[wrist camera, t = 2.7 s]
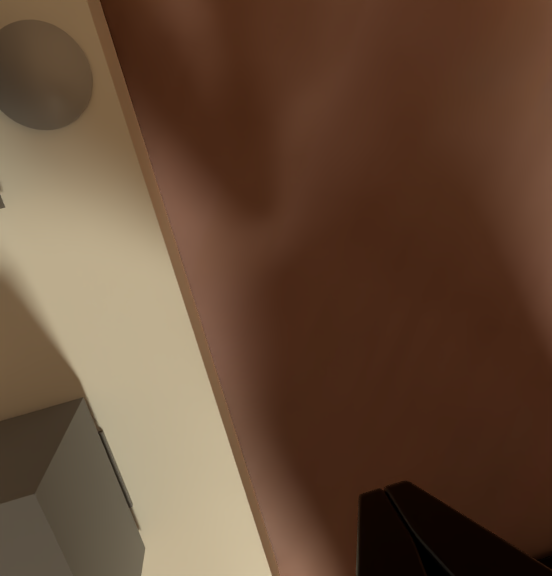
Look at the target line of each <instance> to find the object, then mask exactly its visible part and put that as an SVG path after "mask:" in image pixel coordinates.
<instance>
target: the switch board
mask: <svg viewBox="0 0 552 576" xmlns="http://www.w3.org/2000/svg"><path fill="white" fill-rule="evenodd" d="M0 195H1V198H2V200H3V203H4V205H5V208H2V209H0V421H2V420H6V419H9V418H13V417H16V416H20V415H23V414H27V413H30V412H34V411H37V410H41V409H44V408H47V407H51V406H54V405H58V404H61V403H65V402H68V401H72V400H75V399H79V398H82V397H84V400H85V402H86V405H87V407H88V409H89V412H90V414H91V417H92V419H93V422H94V424H95V426H96V429H97V431H98V434H99V436H100V439H101V441H102V443H103V446H104V448H105V451H106V453H107V456H108V458H109V460H110V463H111V465H112V468H113V470H114V473H115V475H116V478H117V480H118V482H119V485H120V487H121V490H122V492H123V495H124V497H125V499H126V502H127V504H128V507H129V509H130V512H131V514H132V516H133V519H134V521H135V524H136V526H137V529H138V531H139V533H140V536H141V538H142V541H143V543H144V546H145V554H144V560H143V567H142V573H141V576H280V574H279V569H278V565H277V562H276V558H275V555H274V552H273V549H272V546H271V543H270V539H269V536H268V533H267V530H266V527H265V524H264V520H263V517H262V514H261V511H260V508H259V504H258V501H257V498H256V495H255V492H254V489H253V485H252V482H251V479H250V476H249V473H248V470H247V466H246V463H245V460H244V457H243V454H242V450H241V447H240V444H239V441H238V438H237V435H236V431H235V428H234V425H233V422H232V419H231V416H230V412H229V409H228V406H227V403H226V400H225V397H224V393H223V390H222V387H221V384H220V381H219V377H218V374H217V371H216V368H215V365H214V362H213V358H212V355H211V352H210V349H209V346H208V343H207V339H206V336H205V333H204V330H203V327H202V323H201V320H200V317H199V314H198V311H197V308H196V304H195V301H194V298H193V295H192V292H191V289H190V285H189V282H188V279H187V276H186V273H185V270H184V266H183V263H182V260H181V257H180V254H179V250H178V247H177V244H176V241H175V238H174V235H173V231H172V228H171V225H170V222H169V219H168V216H167V212H166V209H165V206H164V203H163V200H162V197H161V193H160V190H159V187H158V184H157V181H156V177H155V174H154V171H153V168H152V165H151V162H150V158H149V155H148V152H147V149H146V146H145V143H144V139H143V136H142V133H141V130H140V127H139V123H138V120H137V117H136V114H135V111H134V108H133V104H132V101H131V98H130V95H129V92H128V89H127V85H126V82H125V79H124V76H123V73H122V70H121V66H120V63H119V60H118V57H117V54H116V50H115V47H114V44H113V41H112V38H111V35H110V31H109V28H108V25H107V22H106V19H105V16H104V12H103V9H102V6H101V3H100V0H0Z"/></svg>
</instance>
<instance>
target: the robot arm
mask: <svg viewBox="0 0 552 576" xmlns="http://www.w3.org/2000/svg"><path fill="white" fill-rule="evenodd" d="M356 576H552V556H551V557H548V558H545V559H542V560H539V561H537V560H536V559H534V558H532V557H531V556H529V555H527V554H526V553H524V552H523V551H521V550H519V549H518V548H516V547H514V546H513V545H511V544H510V543H508V542H506V541H505V540H503V539H502V538H500V537H498V536H497V535H495V534H493V533H492V532H490V531H489V530H487V529H485V528H484V527H482V526H480V525H479V524H477V523H476V522H474V521H472V520H471V519H469V518H467V517H466V516H464V515H463V514H461V513H459V512H458V511H456V510H455V509H453V508H451V507H450V506H448V505H446V504H445V503H443V502H442V501H440V500H438V499H437V498H435V497H433V496H432V495H430V494H429V493H427V492H425V491H424V490H422V489H420V488H419V487H417V486H416V485H414V484H412V483H411V482H409V481H401V482H398V483H395V484H392V485H388V486H386V487H385V488H384V490H382V489H375V490H372V491H369V492H366V493H363V494H361V495H360V496H359V501H358V528H357V556H356Z"/></svg>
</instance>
